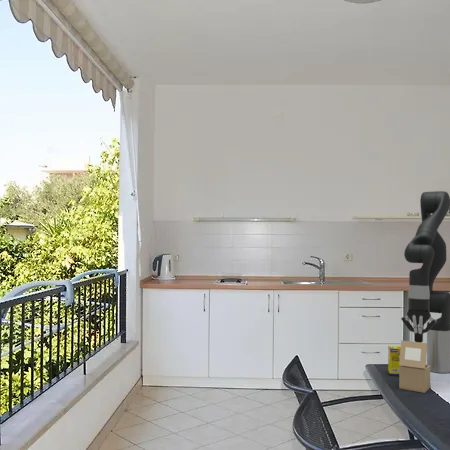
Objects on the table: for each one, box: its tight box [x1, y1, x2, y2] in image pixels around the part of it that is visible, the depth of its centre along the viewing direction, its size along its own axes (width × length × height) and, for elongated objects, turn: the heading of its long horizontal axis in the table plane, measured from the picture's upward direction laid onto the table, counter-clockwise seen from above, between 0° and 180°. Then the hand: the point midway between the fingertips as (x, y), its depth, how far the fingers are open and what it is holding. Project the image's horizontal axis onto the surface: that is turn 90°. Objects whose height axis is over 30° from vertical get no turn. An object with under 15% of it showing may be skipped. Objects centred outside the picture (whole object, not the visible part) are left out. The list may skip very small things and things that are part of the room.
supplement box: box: [387, 345, 401, 377], centre depth 212 cm, size 6×6×11 cm
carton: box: [398, 364, 431, 394], centre depth 192 cm, size 9×9×8 cm
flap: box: [399, 340, 427, 369], centre depth 189 cm, size 9×9×1 cm
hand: (418, 343), depth 197 cm, fingers closed
